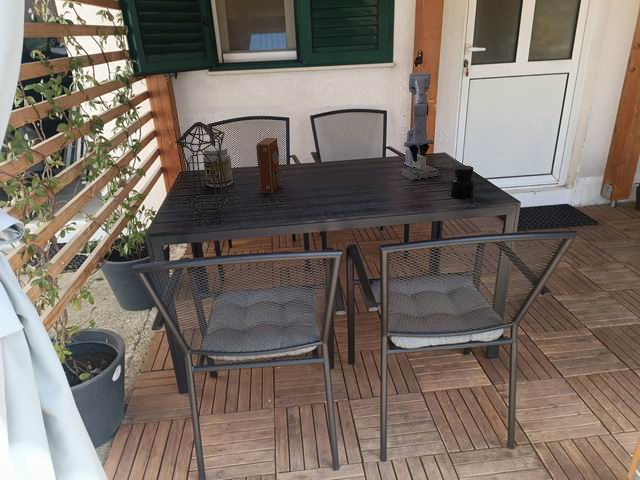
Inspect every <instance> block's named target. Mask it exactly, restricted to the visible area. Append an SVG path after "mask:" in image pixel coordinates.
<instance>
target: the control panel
mask: <svg viewBox="0 0 640 480" xmlns="http://www.w3.org/2000/svg"><path fill="white" fill-rule="evenodd" d="M255 148H256V150H255V151H256V160H257V168H258V174H259V187H260V193H261V194H273V193H274V192H275V191H276V190H277V189H278V188H279V186H281V175H280V153H279V150H280V149H279V146H278V137H264V138H263V139H262V140H260V141H259V142H257V143H256V146H255Z"/></svg>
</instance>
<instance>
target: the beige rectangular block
mask: <svg viewBox="0 0 640 480" xmlns="http://www.w3.org/2000/svg"><path fill="white" fill-rule="evenodd" d="M426 165H427V156H425V157H424V156H422V155H419V154H417V162H414V161H413V159H412V166H415V168H416V167H417V168H419V169H424V168H426Z"/></svg>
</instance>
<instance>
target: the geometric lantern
mask: <svg viewBox="0 0 640 480" xmlns="http://www.w3.org/2000/svg"><path fill="white" fill-rule="evenodd" d="M193 130H195V131H194V132H193ZM213 130H214V131H213ZM197 131H198V133H197ZM215 131H216V132H215ZM204 132H205V133H204ZM207 135H208V136H209V141H208V140H207V141H206V140H204V136H207ZM189 136H191V137H192V138H191V140H190V141H189V142H188V141H187V138H188V137H189ZM197 136H198V137H197ZM201 137H202V139H201ZM224 137H225V132H224V131H222V130H220V129H217V128H214V127H212V126H210V125H208V124H205V123H204V122H202V121H197V122H194V123H193V124H192V125H191V126H190V127H188V129H187V130H186V131H184V132H183V133H182V135H181V136H180V137H179V138H178V139H177V140H176V141H175V142H174V144H177V145H179V146H180V147H181V149H182V153H183V157H184V162H185V163H186V177H187V191H188V203H189V204H188V206H189V208H190V209H192V210H194V211H195V212H197V213H198V215H197V216H198V217H200V218H203V217H204V218H205V217H206V218H207V217H219V216H221V215H222V211H223V208H224V207H225V206H226V204H227V202H228V201H229V191H228V186H227V185H226V180H225V175H224V170H223V164H222V159H221V146H223V141H224ZM194 139H196V140H198V143H193V142H194ZM216 143H218V146H219V149H220V151H219V150H218V151H217V149H216V148H215V146H216V145H214V144H216ZM188 145H189V146H190V147H189V146H188ZM202 145H206V146H205V147H202V148H201V146H202ZM192 146H198V148H197V149H196V150H194V149H193V147H192ZM211 146H214V148H215V149H216V151H217V152H218V154H205V153H204V149H206V148H208V147H211ZM184 148H186V149H188V150H189V151H190V152H191V153H192V155H191V154H190V156H189V157H188V158H187V157H186V154H185V149H184ZM199 152H201V154H198V153H199ZM206 155H217V157H218V158H216V161H213V162H211V161H210V160H209V158H208V157H207V156H206ZM199 156H205V157H206V158H207V159H208V160H209V162H202V161H200V162H199ZM195 157H196V162H195V159H194V158H195ZM217 160H218V161H219V168H220V176H221V183H220V178H219V172H218V167H217ZM220 161H221V165H220ZM204 163H211V169H212V176H213V182H214V187H213V189H214V195H213V194H212V195H203V193H202V184H201V183H202V182H201V174H200V173H201V172H200V164H204ZM212 163H215V164H216V170H217V175H218V180H219V186H220V188H219V190H220V194H217V193H218V192H217V188H216V185H215V179H214V172H213V166H212ZM195 164H197V173H198V174H197V175H198V181H199V182H198V183H199V191H200V192H199V193H200V195H198V196H197V187H196V174H195V171H196V170H195ZM190 165H192V172H193V173H192V172H191V166H190ZM221 167H222V172H223V177H224V182H225V187H223V181H222V173H221ZM192 174H193V175H192ZM192 177H193V182H192ZM221 184H222V187H221ZM193 188H194V189H193ZM224 188H225V191H224ZM225 193H226V195H225ZM213 197H214V198H215V200H216V202H213V203H204V202H203V199H202V198H213ZM219 197H220V201H219V200H218V198H219ZM224 197H225V199H224ZM191 198H192V200H191ZM199 198H200V201H199V200H198V199H199ZM191 201H192V202H191ZM195 201H196V202H197V203H198V205H199V206H197V207H196V204H195ZM200 202H201V203H200ZM208 205H209V206H208ZM210 205H217V206H210ZM216 209H217V210H216ZM215 212H216V213H217V214H210V215H209V214H208V215H202V213H215Z"/></svg>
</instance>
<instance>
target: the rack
mask: <svg viewBox="0 0 640 480" xmlns="http://www.w3.org/2000/svg"><path fill="white" fill-rule="evenodd" d="M402 175H403V176H402ZM400 176H402V177H404V176H405V177H404V178H406V177H407V178H406V179H408V178H409V179H408V180H410V179H411V180H410V181H415V180H414V179H418V180H422V179H421V178H425V179H428V178H427V177H432V178H434V177H433V176H438V177H439V169H437V168H434V167H432V166H429V165H428V164H426V168H424V169H419V168H417V167H415V168H411V167H406V168H401V169H400Z"/></svg>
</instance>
